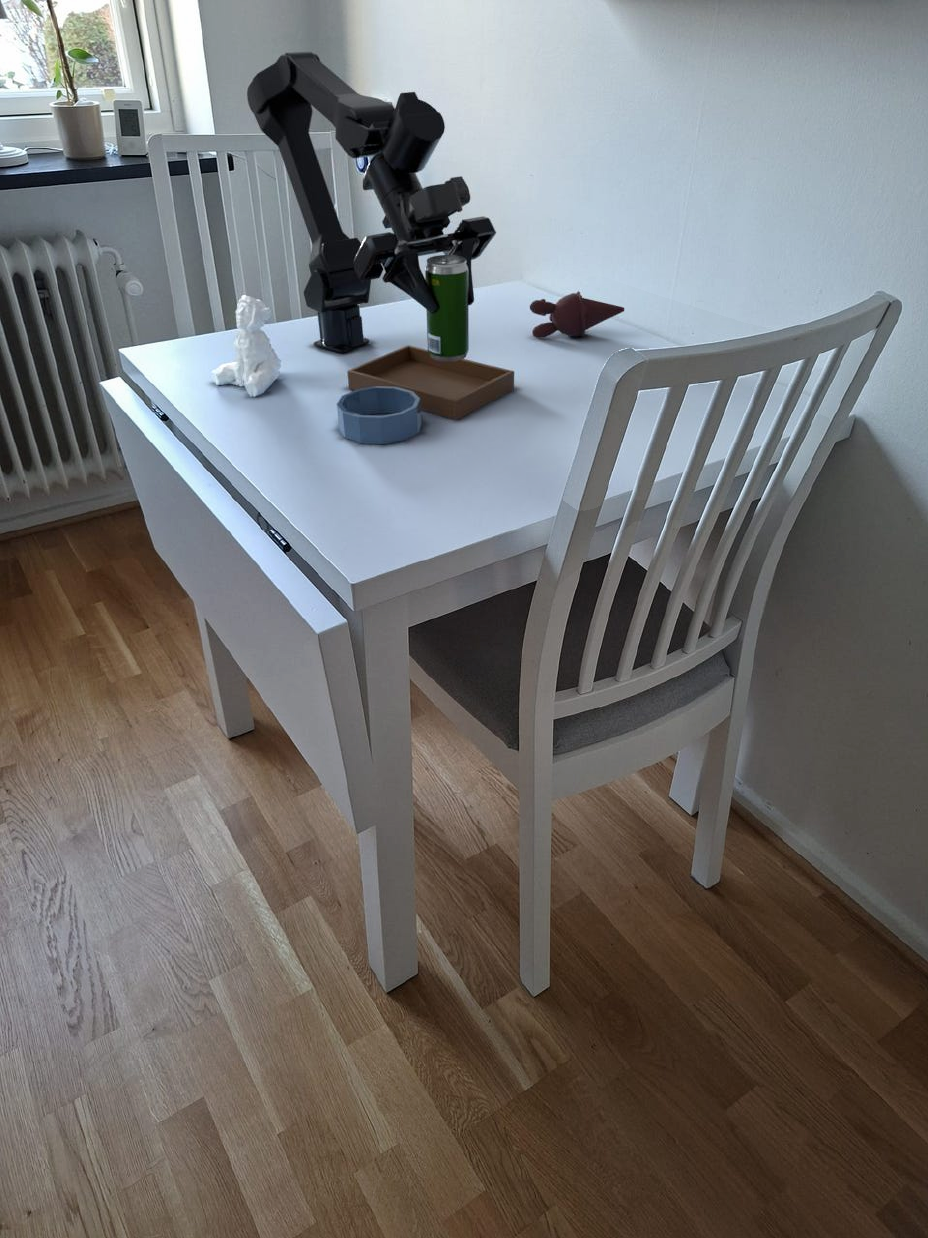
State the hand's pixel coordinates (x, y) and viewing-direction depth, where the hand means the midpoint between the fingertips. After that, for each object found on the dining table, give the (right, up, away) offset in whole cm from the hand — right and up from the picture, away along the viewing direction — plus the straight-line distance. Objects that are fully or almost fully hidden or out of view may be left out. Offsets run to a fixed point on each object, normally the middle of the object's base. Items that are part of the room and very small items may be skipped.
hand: (453, 307), depth 110 cm
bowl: (-9, -15, +2) cm, 18 cm away
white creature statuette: (-29, -5, +15) cm, 33 cm away
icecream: (+19, +6, +30) cm, 36 cm away
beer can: (-1, -5, +5) cm, 7 cm away
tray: (-3, -7, +12) cm, 14 cm away
